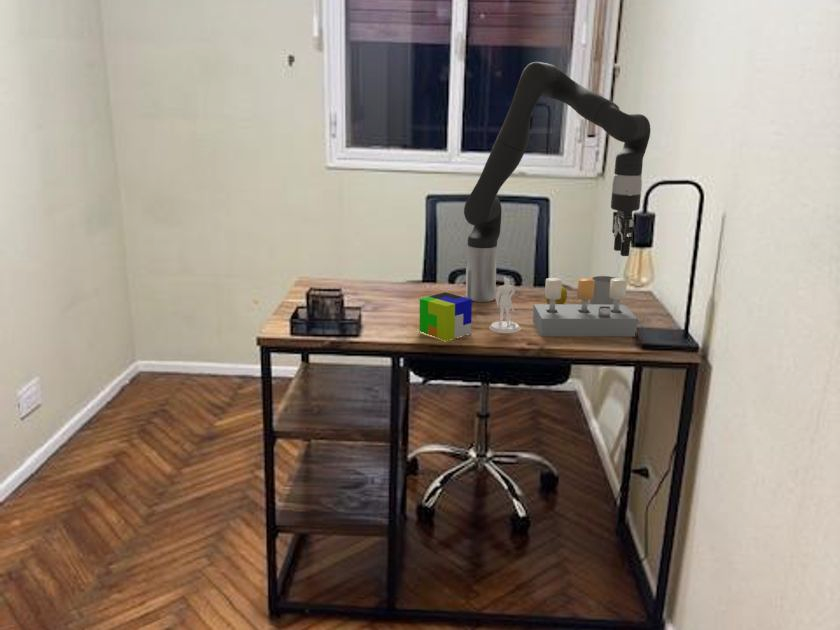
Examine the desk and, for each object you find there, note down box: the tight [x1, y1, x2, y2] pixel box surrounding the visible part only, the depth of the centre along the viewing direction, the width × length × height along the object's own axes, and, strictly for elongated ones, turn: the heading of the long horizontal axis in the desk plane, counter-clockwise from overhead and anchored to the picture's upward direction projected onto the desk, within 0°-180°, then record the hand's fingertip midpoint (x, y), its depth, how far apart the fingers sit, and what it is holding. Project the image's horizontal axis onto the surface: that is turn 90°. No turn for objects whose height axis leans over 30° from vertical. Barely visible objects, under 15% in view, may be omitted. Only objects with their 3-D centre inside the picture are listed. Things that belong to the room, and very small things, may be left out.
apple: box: [545, 285, 568, 304], centre depth 230 cm, size 6×6×8 cm
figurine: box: [488, 276, 521, 334], centre depth 210 cm, size 9×9×15 cm
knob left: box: [544, 277, 563, 312], centre depth 210 cm, size 4×4×9 cm
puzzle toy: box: [419, 292, 473, 341], centre depth 206 cm, size 10×10×10 cm
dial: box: [598, 306, 611, 318], centre depth 206 cm, size 3×3×3 cm
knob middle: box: [576, 277, 595, 312], centre depth 210 cm, size 4×4×9 cm
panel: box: [532, 303, 638, 337], centre depth 212 cm, size 26×14×5 cm, turn 91°
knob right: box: [609, 277, 628, 312], centre depth 210 cm, size 4×4×9 cm
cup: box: [589, 275, 616, 304], centre depth 228 cm, size 8×8×10 cm
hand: (621, 252), depth 206 cm, fingers open, 6 cm apart
